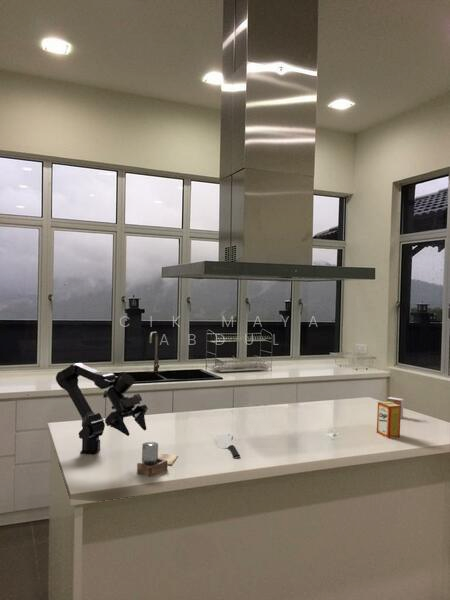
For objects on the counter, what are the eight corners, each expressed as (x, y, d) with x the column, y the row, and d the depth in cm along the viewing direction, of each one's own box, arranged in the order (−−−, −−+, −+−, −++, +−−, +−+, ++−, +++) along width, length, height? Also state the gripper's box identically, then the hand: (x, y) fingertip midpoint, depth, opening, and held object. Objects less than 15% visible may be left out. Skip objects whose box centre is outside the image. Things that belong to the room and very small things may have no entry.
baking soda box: (399, 437, 241) (401, 405, 241) (388, 438, 239) (389, 405, 239) (387, 431, 250) (388, 400, 250) (376, 432, 248) (378, 401, 248)
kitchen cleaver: (210, 434, 234) (231, 431, 236) (211, 438, 234) (231, 435, 236) (219, 457, 203) (243, 454, 205) (220, 461, 203) (243, 458, 205)
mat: (142, 463, 195) (142, 461, 195) (149, 453, 206) (149, 452, 206) (171, 465, 194) (171, 464, 194) (177, 456, 205) (177, 454, 205)
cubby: (137, 472, 185) (137, 463, 185) (154, 465, 193) (154, 456, 193) (150, 477, 182) (150, 467, 181) (167, 469, 189) (167, 460, 189)
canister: (139, 472, 186) (140, 446, 185) (144, 466, 192) (145, 441, 191) (155, 473, 185) (155, 447, 185) (159, 468, 191) (160, 442, 190)
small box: (386, 416, 281) (386, 398, 280) (388, 414, 285) (389, 396, 285) (400, 418, 276) (401, 400, 276) (403, 416, 281) (403, 398, 280)
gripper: (110, 391, 187) (130, 426, 181) (145, 384, 202) (164, 415, 196) (96, 408, 191) (115, 442, 185) (131, 400, 207) (149, 431, 201)
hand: (137, 432), depth 192 cm, fingers open, 9 cm apart
